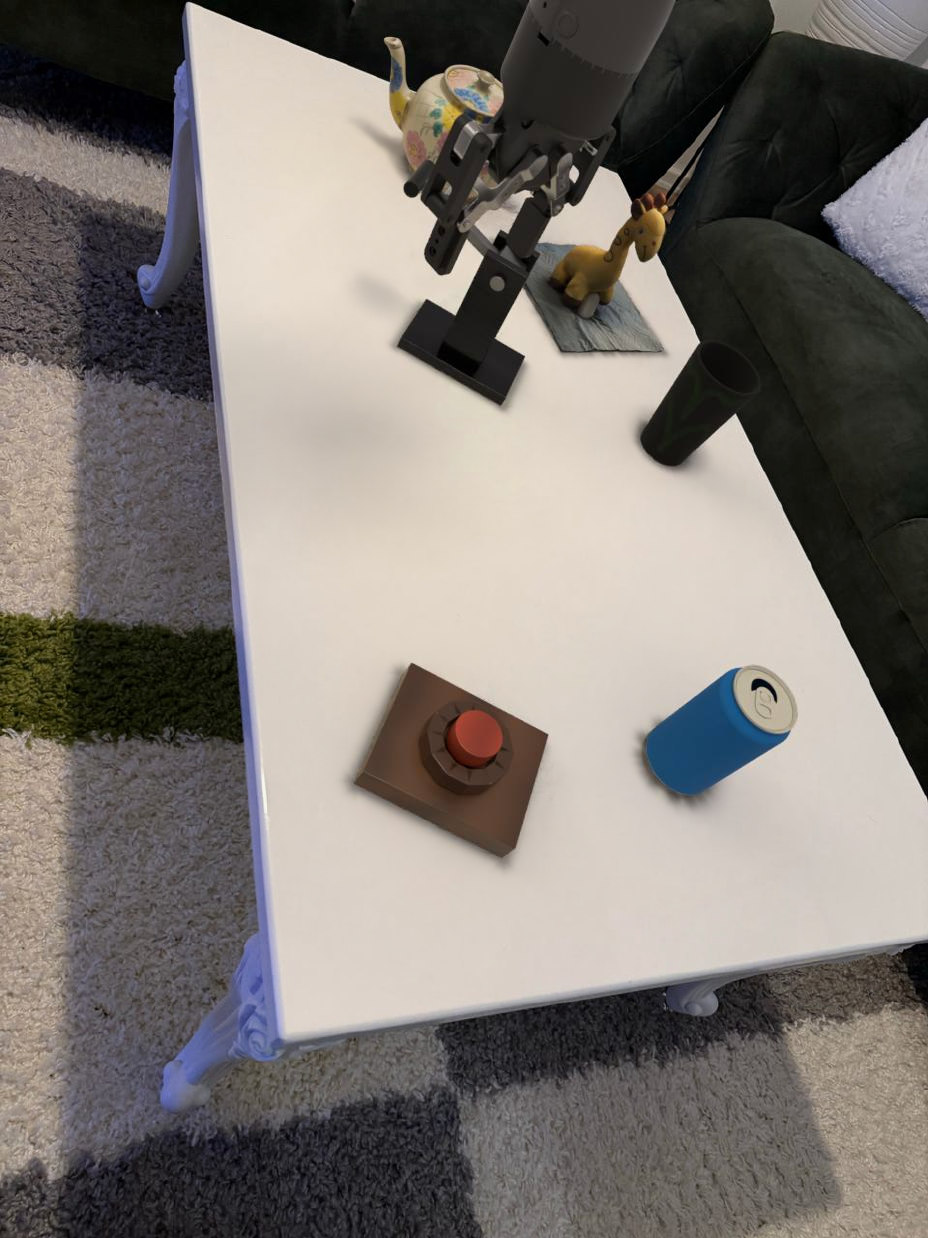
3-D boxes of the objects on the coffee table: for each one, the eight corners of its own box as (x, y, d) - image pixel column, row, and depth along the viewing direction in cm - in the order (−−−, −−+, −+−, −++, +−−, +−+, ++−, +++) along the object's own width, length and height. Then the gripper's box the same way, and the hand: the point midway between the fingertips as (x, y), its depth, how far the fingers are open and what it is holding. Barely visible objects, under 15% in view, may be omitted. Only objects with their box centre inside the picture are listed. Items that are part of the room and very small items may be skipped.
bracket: (396, 346, 88) (443, 238, 79) (422, 306, 94) (469, 200, 84) (500, 406, 90) (559, 307, 80) (520, 364, 95) (578, 266, 85)
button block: (353, 783, 62) (371, 761, 59) (401, 675, 68) (419, 650, 65) (502, 858, 63) (527, 840, 60) (536, 745, 70) (560, 724, 67)
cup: (627, 413, 98) (690, 330, 89) (684, 429, 101) (751, 351, 92) (638, 465, 94) (706, 383, 85) (697, 480, 97) (769, 403, 87)
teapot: (497, 163, 116) (543, 62, 106) (522, 230, 110) (574, 129, 100) (352, 122, 107) (387, 8, 97) (370, 193, 101) (410, 78, 91)
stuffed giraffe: (561, 350, 99) (639, 226, 87) (493, 245, 106) (557, 117, 94) (660, 354, 108) (743, 241, 96) (591, 256, 115) (661, 140, 103)
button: (439, 752, 61) (448, 742, 60) (455, 712, 64) (464, 701, 62) (484, 775, 62) (494, 766, 61) (498, 734, 64) (508, 724, 63)
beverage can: (709, 745, 77) (803, 681, 68) (703, 811, 73) (802, 752, 64) (645, 715, 76) (732, 646, 67) (636, 779, 72) (727, 715, 63)
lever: (396, 192, 78) (412, 173, 77) (415, 170, 82) (430, 151, 80) (500, 300, 83) (517, 284, 81) (514, 275, 86) (531, 259, 85)
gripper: (619, -8, 56) (509, 213, 69) (465, -20, 48) (372, 235, 60) (697, 67, 55) (571, 279, 67) (554, 68, 46) (439, 312, 58)
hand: (477, 258), depth 64 cm, fingers open, 8 cm apart
